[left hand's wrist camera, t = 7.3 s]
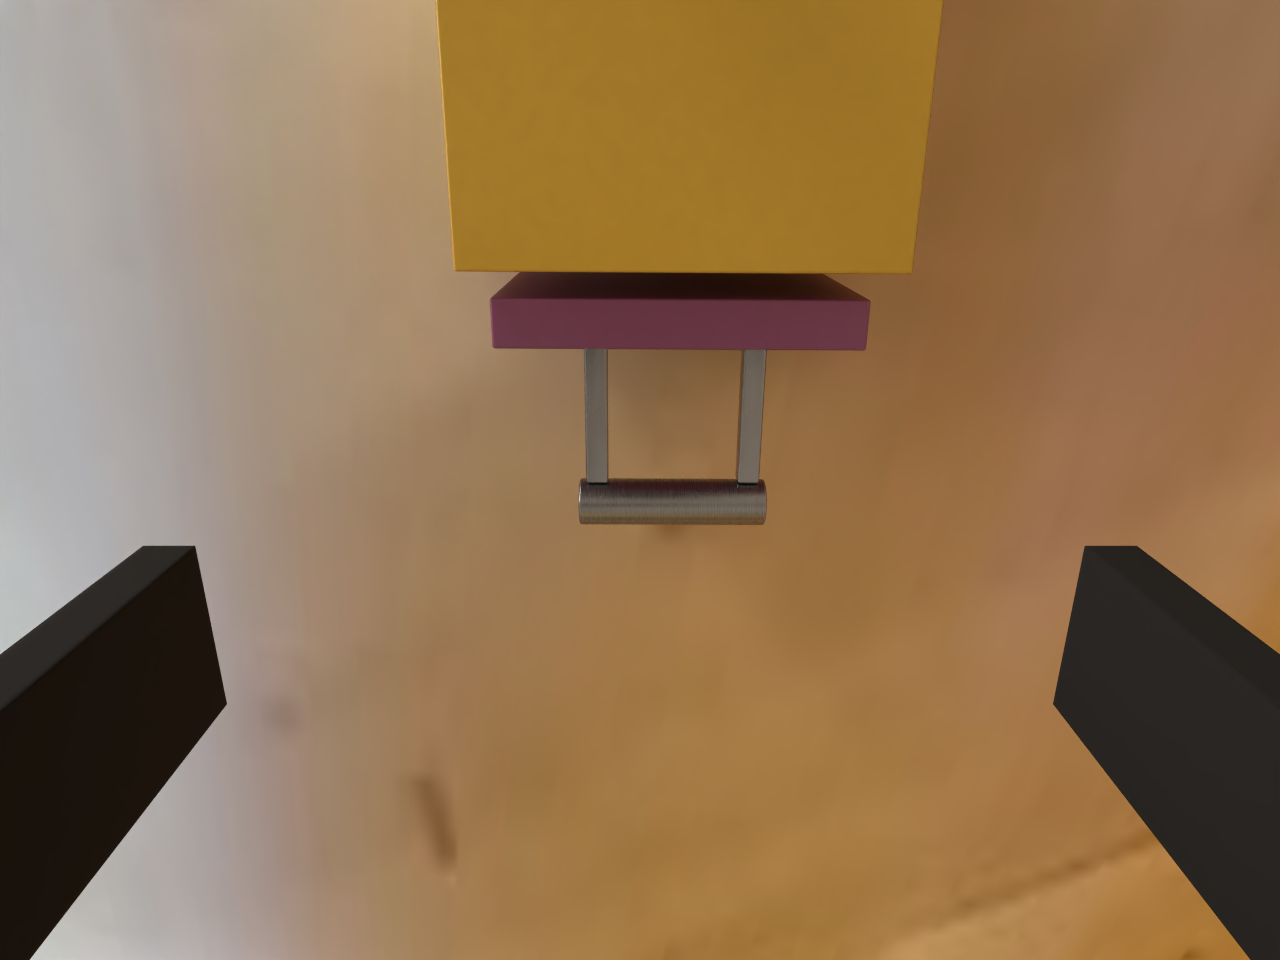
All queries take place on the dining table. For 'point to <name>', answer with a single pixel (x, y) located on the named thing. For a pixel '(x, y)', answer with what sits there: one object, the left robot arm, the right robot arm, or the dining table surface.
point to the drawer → (676, 319)
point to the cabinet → (686, 134)
